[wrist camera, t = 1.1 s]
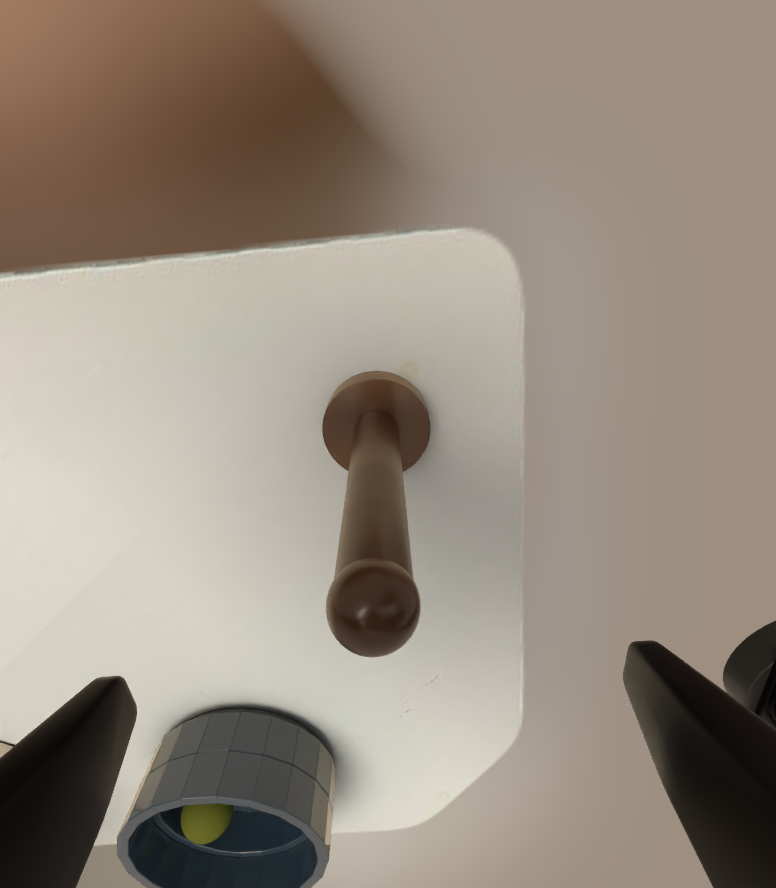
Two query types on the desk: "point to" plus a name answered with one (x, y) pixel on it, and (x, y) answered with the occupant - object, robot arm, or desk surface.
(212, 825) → the olive ball
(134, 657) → the desk surface
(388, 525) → the stirring stick
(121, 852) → the bowl
